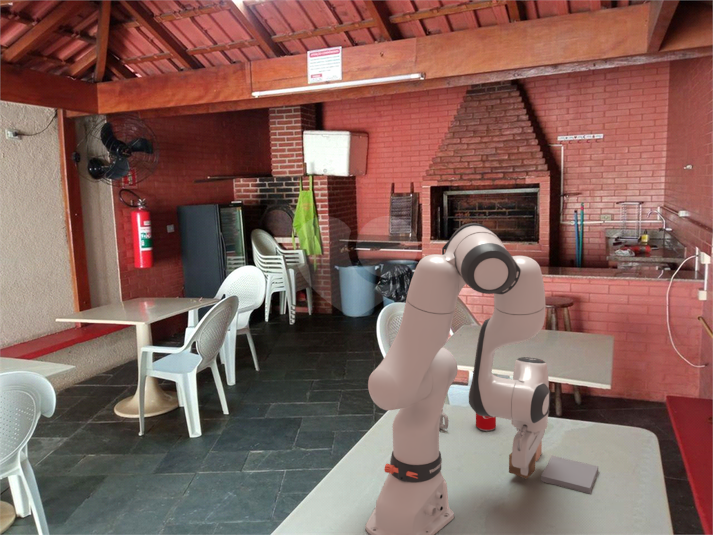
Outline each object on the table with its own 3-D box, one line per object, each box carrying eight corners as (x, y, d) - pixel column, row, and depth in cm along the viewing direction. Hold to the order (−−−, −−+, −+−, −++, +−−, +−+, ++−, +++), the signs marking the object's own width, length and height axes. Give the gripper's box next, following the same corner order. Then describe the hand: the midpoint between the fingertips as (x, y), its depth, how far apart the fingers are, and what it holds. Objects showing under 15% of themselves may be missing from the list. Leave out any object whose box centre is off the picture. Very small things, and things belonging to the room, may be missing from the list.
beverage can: (496, 432, 171) (496, 396, 169) (476, 431, 172) (475, 395, 170) (495, 423, 177) (495, 388, 175) (475, 422, 178) (475, 388, 176)
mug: (418, 425, 178) (417, 406, 177) (432, 419, 182) (432, 400, 181) (440, 436, 170) (440, 415, 169) (455, 429, 174) (454, 409, 173)
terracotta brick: (536, 462, 153) (537, 445, 152) (518, 457, 155) (519, 441, 155) (541, 454, 157) (541, 437, 156) (523, 450, 160) (524, 434, 159)
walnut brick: (526, 478, 140) (527, 460, 140) (508, 472, 144) (509, 454, 143) (535, 470, 144) (535, 453, 143) (517, 464, 147) (517, 447, 146)
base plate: (589, 493, 136) (590, 488, 136) (540, 481, 143) (540, 475, 143) (598, 471, 146) (598, 466, 146) (551, 460, 153) (552, 455, 153)
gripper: (532, 437, 130) (530, 491, 132) (550, 405, 147) (548, 453, 149) (505, 432, 133) (504, 484, 135) (526, 401, 150) (525, 448, 153)
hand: (528, 467), depth 143 cm, fingers closed on walnut brick, 5 cm apart
